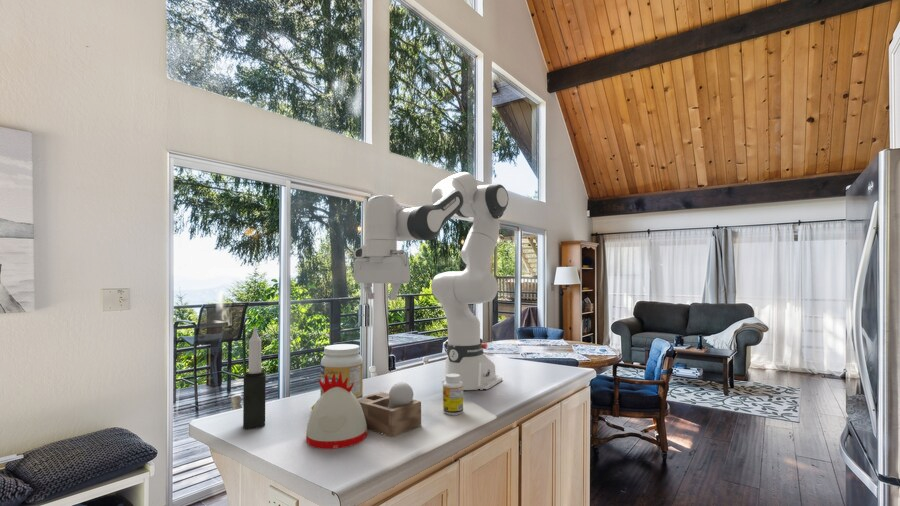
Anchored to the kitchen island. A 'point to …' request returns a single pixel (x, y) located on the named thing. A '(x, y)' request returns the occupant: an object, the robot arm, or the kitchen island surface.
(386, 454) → the kitchen island surface
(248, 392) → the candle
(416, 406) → the socket block
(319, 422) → the kitchen timer
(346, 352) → the supplement tub
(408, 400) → the lightbulb
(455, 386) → the supplement bottle
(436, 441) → the kitchen island surface
